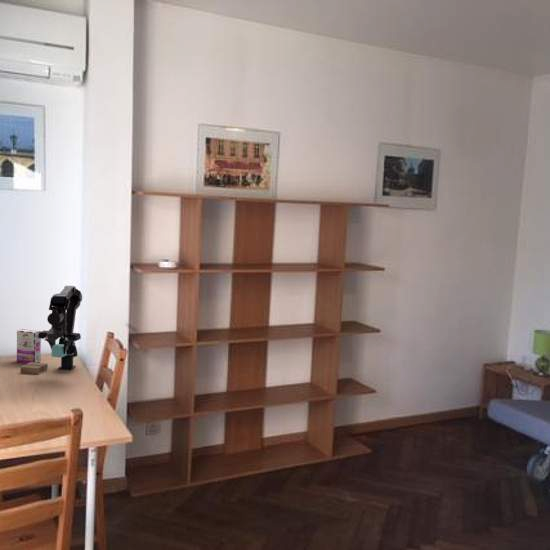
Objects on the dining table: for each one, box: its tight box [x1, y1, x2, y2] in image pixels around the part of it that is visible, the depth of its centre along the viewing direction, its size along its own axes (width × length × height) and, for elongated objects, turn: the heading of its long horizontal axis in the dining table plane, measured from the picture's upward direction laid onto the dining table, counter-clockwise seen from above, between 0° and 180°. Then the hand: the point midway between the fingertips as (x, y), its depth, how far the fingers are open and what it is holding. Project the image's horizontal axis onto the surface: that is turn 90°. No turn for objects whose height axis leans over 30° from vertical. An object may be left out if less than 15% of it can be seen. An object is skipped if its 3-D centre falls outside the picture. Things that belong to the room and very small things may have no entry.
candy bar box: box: [16, 328, 42, 364], centre depth 308 cm, size 11×5×16 cm, turn 73°
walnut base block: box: [20, 362, 49, 375], centre depth 293 cm, size 9×9×3 cm
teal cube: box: [51, 343, 67, 358], centre depth 285 cm, size 5×5×5 cm
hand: (59, 353), depth 285 cm, fingers closed on teal cube, 5 cm apart
